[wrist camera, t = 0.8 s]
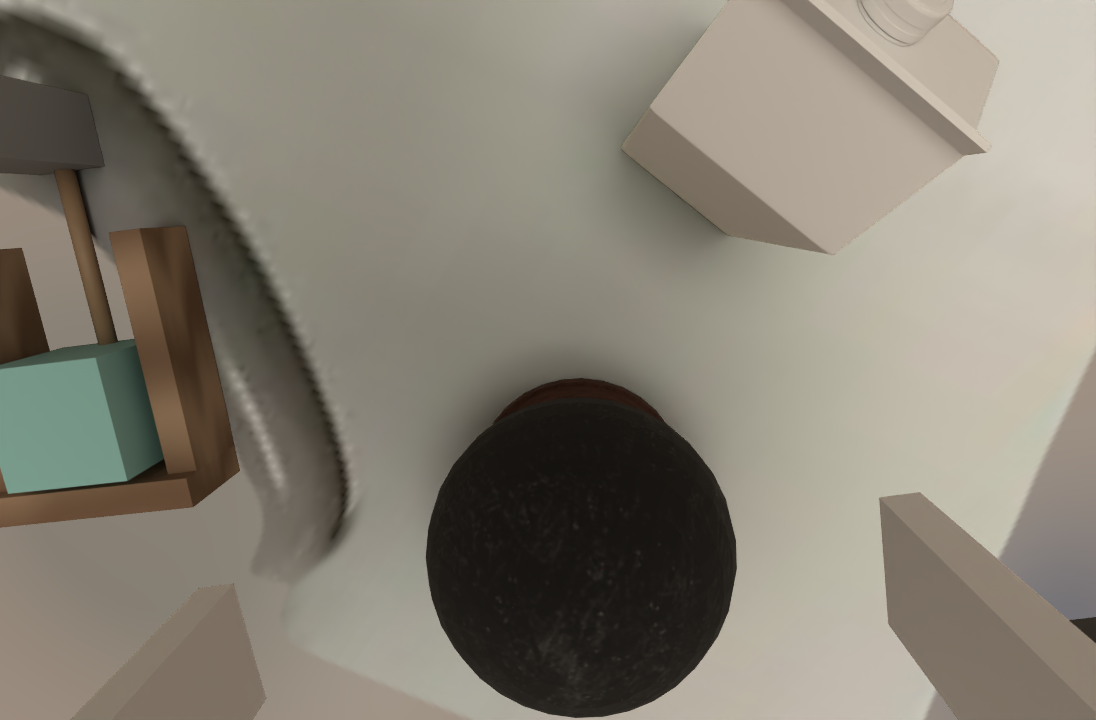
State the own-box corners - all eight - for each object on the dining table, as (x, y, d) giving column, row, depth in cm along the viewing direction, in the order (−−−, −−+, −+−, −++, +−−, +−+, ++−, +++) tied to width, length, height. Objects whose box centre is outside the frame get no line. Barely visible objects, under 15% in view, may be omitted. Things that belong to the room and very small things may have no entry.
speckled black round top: (574, 630, 41) (573, 863, 27) (410, 472, 40) (313, 626, 25) (751, 483, 39) (855, 649, 24) (584, 308, 37) (588, 373, 23)
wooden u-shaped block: (-5, 251, 38) (-91, 257, 33) (185, 226, 37) (125, 228, 33) (61, 489, 41) (-9, 528, 36) (239, 470, 40) (192, 507, 35)
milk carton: (729, 237, 36) (886, 267, 18) (619, 148, 36) (664, 85, 17) (824, 120, 35) (1102, 21, 17) (712, 25, 34) (870, -188, 16)
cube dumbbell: (-2, 107, 37) (-159, 81, 29) (110, 91, 36) (-18, 59, 28) (90, 452, 40) (-27, 511, 32) (193, 440, 40) (100, 497, 32)
